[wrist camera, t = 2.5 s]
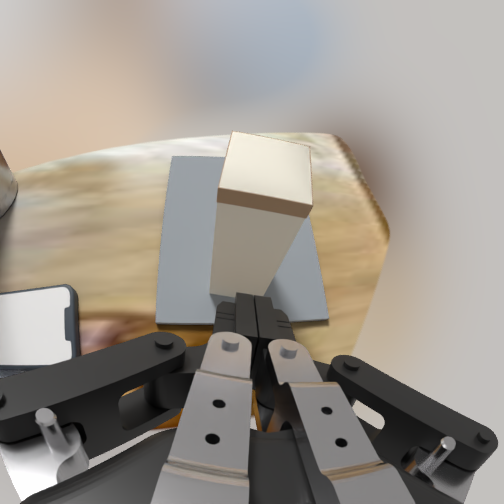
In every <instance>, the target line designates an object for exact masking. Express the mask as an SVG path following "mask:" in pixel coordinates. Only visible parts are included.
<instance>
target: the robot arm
mask: <svg viewBox="0 0 504 504" xmlns="http://www.w3.org/2000/svg"><path fill="white" fill-rule="evenodd" d="M17 188H18V186H17V181H16V179H15V177H14V176H13V174H12V172H11V170H10V168H9V166H8V164H7V162H6V160H5V158H4V156H3V154H2V152H1V150H0V217H1V216H2V215H3V214H4V213H5V212H6V211H7V210H8V208H9V207H10V205H11V204H12V202H13V200H14V198H15V196H16V193H17ZM141 385H144V387H143V388H141V389H139V390H136V391H134V392H132V393H129V394H127V395H125V396H122V395H123V394H124V393H126V392H128V391H130V390H132V389H134V388H137V387H139V386H141ZM252 389H254V390H255V391H256V394H255V398H254V401H253V409H254V414H255V420H256V425H257V430H254V429H250V419H251V401H252ZM121 396H122V397H121ZM356 400H358V401H360V402H361V403H363V404H364V405H366V406H368V407H369V408H371V409H373V410H374V411H376V412H378V413H379V414H381V415H382V416H383V418H384V420H385V425H384V427H383V428H382V429H377V428H375V427H374V426H372V425H370V424H368V423H367V422H366V421H364V420H362V419H360V418H359V417H358V416H356V414H355V413H354V411H353V409H352V406H353V405H354V403H355V401H356ZM181 408H184V409H183V412H182V415H181V419H180V422H179V425H178V428H174V429H169V430H165V431H162V432H159V433H156V434H154V435H151V436H150V437H148V438H146V439H144V440H143V441H141V442H139V443H137V444H136V445H134V446H132V447H130V448H128V449H127V450H125V451H123V452H121V453H119V454H117V455H116V456H114V457H112V458H110V459H108V460H106V461H104V462H102V463H100V464H98V465H96V466H94V467H92V468H90V469H88V466H89V460H90V459H92V458H94V457H96V456H99V455H101V454H103V453H105V452H107V451H110V450H112V449H114V448H116V447H118V446H120V445H122V444H124V443H126V442H128V441H130V440H132V439H134V438H136V437H137V436H140V435H142V434H143V433H145V432H147V431H149V430H151V429H153V428H155V427H157V426H158V425H160V424H162V423H164V422H166V421H167V420H169V419H171V418H173V417H175V416H176V415H178V414H179V413H180V411H181ZM497 447H498V440H497V437H496V435H495V434H494V432H493V431H492V430H491V429H489V428H488V427H486V426H484V425H482V424H480V423H478V422H476V421H474V420H472V419H470V418H468V417H466V416H464V415H462V414H460V413H458V412H456V411H454V410H452V409H450V408H448V407H446V406H444V405H442V404H440V403H438V402H437V401H434V400H433V399H431V398H429V397H427V396H425V395H423V394H421V393H420V392H418V391H416V390H414V389H412V388H410V387H409V386H407V385H405V384H403V383H401V382H399V381H397V380H396V379H394V378H392V377H390V376H389V375H387V374H384V373H383V372H381V371H380V370H378V369H376V368H374V367H372V366H371V365H369V364H367V363H365V362H364V361H362V360H360V359H358V358H356V357H353V356H349V355H339V356H336V357H334V358H333V359H332V361H331V364H330V365H329V364H325V363H321V362H317V361H314V360H312V358H311V356H310V354H309V352H308V350H307V349H306V348H305V347H304V346H303V345H301V344H300V343H298V342H296V340H295V337H294V334H293V331H292V329H291V325H290V322H289V319H288V316H287V315H286V314H285V313H284V312H283V311H282V310H280V309H274V308H273V304H272V300H271V297H265V296H258V295H254V296H253V295H251V294H245V293H239V292H236V296H235V301H234V303H232V302H226V301H222V302H221V303H220V304H218V305H217V309H216V315H215V322H214V328H213V334H212V336H211V337H210V339H209V342H208V343H206V344H204V345H201V346H196V347H186V343H185V342H184V340H183V339H182V338H180V337H179V336H177V335H175V334H172V333H167V332H154V333H150V334H147V335H144V336H141V337H138V338H135V339H132V340H129V341H126V342H123V343H120V344H117V345H114V346H111V347H108V348H105V349H102V350H98V351H95V352H92V353H89V354H86V355H82V356H79V357H76V358H72V359H69V360H66V361H62V362H59V363H55V364H52V365H49V366H45V367H41V368H38V369H34V370H31V371H27V372H23V373H20V374H16V375H12V376H8V377H4V378H0V454H1V457H2V459H3V462H4V464H5V466H6V469H7V471H8V473H9V475H10V477H11V479H12V482H13V484H14V486H15V487H16V490H17V492H18V493H19V495H20V497H21V499H22V502H21V503H20V504H464V501H465V499H466V496H467V493H468V491H469V488H470V485H471V483H472V480H473V476H474V474H475V472H476V471H477V470H478V469H479V468H480V466H482V464H483V463H484V462H485V461H486V460H487V459H488V458H489V457H490V456H491V455H492V453H493V452H494V451H495V450H496V449H497Z"/></svg>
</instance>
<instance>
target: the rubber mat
mask: <svg viewBox="0 0 504 504" xmlns="http://www.w3.org/2000/svg"><path fill="white" fill-rule="evenodd" d="M224 160H225V157H203V156H172V161H171V167H170V173H169V180H168V187H167V194H166V201H165V209H164V217H163V226H162V235H161V245H160V256H159V269H158V283H157V300H156V324H178V325H214V322H215V315H216V309H217V305H218V304H220V303H221V302H222V301H226V302H232V303H234V301H235V298H234V297H228V296H222V295H216V294H210V293H209V289H210V276H211V264H212V252H213V241H214V230H215V220H216V210H217V202H216V200H217V191H218V185H219V181H220V177H221V173H222V168H223V164H224ZM264 296H265V297H271V300H272V304H273V308H274V309H280V310H282V311H283V312H284V313H285V314H286V315H287V316H288V319H289V322H305V321H320V320H327V319H329V316H328V310H327V304H326V298H325V292H324V287H323V281H322V276H321V271H320V266H319V261H318V256H317V251H316V246H315V241H314V236H313V232H312V227H311V222H310V218H309V215H308V217H307V219H306V218H305V220H304V222H303V224H302V226H301V227H300V229H299V231H298V233H297V235H296V237H295V239H294V241H293V242H292V244H291V246H290V248H289V250H288V252H287V254H286V255H285V257H284V259H283V261H282V263H281V265H280V267H279V268H278V270H277V272H276V274H275V276H274V277H273V279H272V281H271V283H270V285H269V287H268V288H267V290H266V292H265V294H264Z"/></svg>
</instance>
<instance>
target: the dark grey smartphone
mask: <svg viewBox="0 0 504 504" xmlns="http://www.w3.org/2000/svg"><path fill="white" fill-rule="evenodd" d="M79 356H80V343H79V325H78V295H77V293H76V291H75V290H74V289H73V288H72V287H71V286H69V285H67V284H63V285H56V286H49V287H42V288H35V289H27V290H20V291H13V292H5V293H0V370H24V371H31V370H34V369H38V368H41V367H45V366H49V365H52V364H55V363H59V362H62V361H66V360H69V359H72V358H76V357H79Z"/></svg>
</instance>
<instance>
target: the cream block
mask: <svg viewBox="0 0 504 504" xmlns="http://www.w3.org/2000/svg"><path fill="white" fill-rule="evenodd" d="M216 202H217V210H216V220H215V230H214V241H213V252H212V264H211V276H210V289H209V293H210V294H216V295H222V296H228V297H234V298H235V296H236V292H239V293H245V294H251V295H253V296H254V295H258V296H264V294H265V292H266V290H267V288H268V287H269V285H270V283H271V281H272V279H273V277H274V276H275V274H276V272H277V270H278V268H279V267H280V265H281V263H282V261H283V259H284V257H285V255H286V254H287V252H288V250H289V248H290V246H291V244H292V242H293V241H294V239H295V237H296V235H297V233H298V231H299V229H300V227H301V226H302V224H303V222H304V220H305V218H306V219H307V217H308V215H309V213H310V211H311V209H312V207H313V188H312V170H311V155H310V146H305V145H301V144H297V143H293V142H288V141H283V140H279V139H274V138H269V137H264V136H259V135H254V134H248V133H242V132H236V131H232V133H231V137H230V141H229V145H228V149H227V153H226V156H225V160H224V164H223V168H222V173H221V177H220V181H219V185H218V191H217V200H216Z"/></svg>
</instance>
